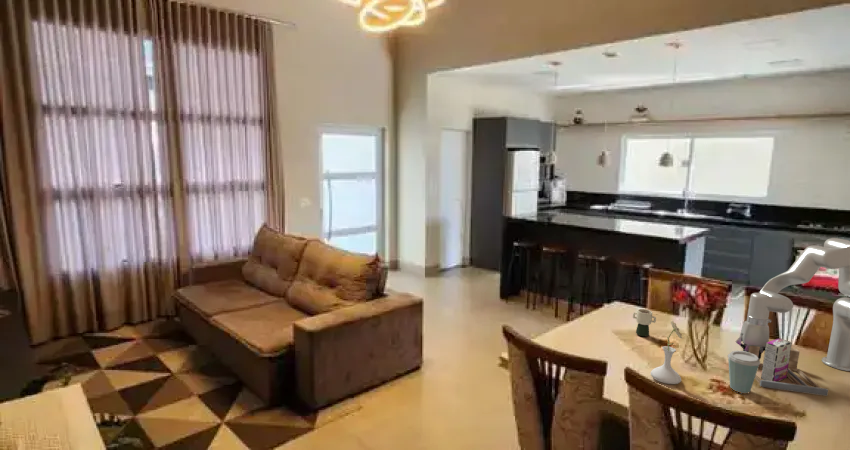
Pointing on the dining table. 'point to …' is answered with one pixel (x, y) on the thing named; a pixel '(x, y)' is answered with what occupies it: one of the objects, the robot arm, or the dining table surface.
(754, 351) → the sled
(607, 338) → the dining table surface
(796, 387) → the lane rails
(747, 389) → the disposable coffee cup
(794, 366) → the sled
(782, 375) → the candy bar box
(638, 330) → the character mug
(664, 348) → the flower in vase
